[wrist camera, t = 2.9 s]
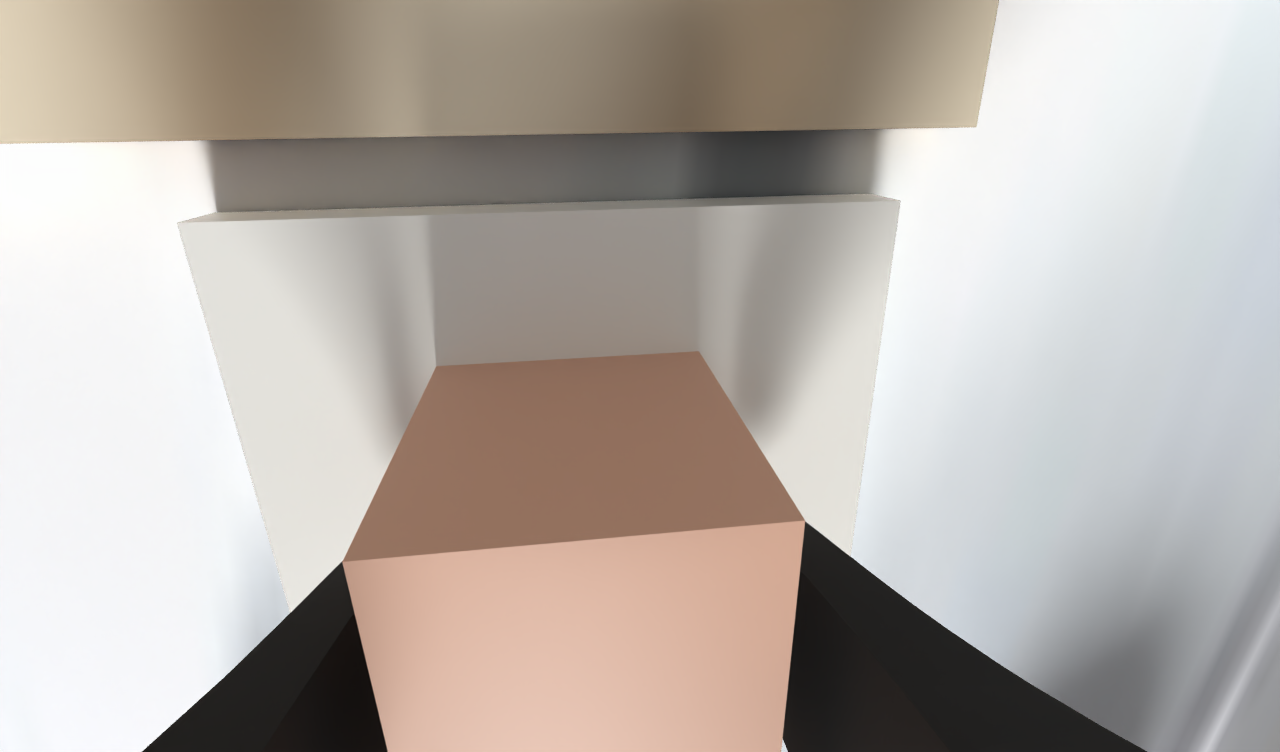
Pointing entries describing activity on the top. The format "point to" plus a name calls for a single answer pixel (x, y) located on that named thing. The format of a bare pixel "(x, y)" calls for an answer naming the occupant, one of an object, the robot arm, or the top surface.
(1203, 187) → the top surface
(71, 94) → the beige flat block
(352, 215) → the white square plate
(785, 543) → the peach rectangular block
